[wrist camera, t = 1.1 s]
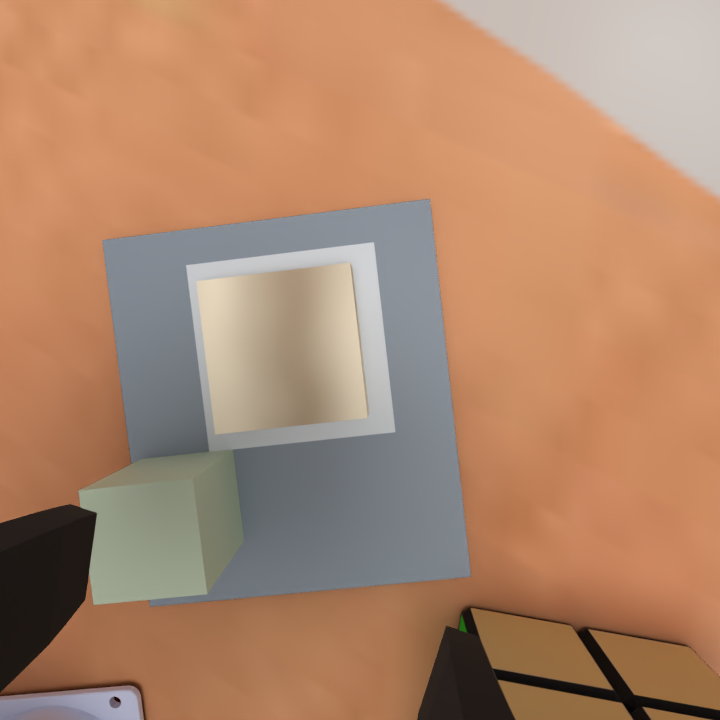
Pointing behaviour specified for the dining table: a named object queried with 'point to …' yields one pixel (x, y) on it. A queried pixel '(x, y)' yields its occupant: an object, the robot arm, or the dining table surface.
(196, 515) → the green block
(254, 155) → the dining table surface
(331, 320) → the base block
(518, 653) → the puzzle cube
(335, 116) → the dining table surface
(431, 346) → the building mat
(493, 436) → the dining table surface
